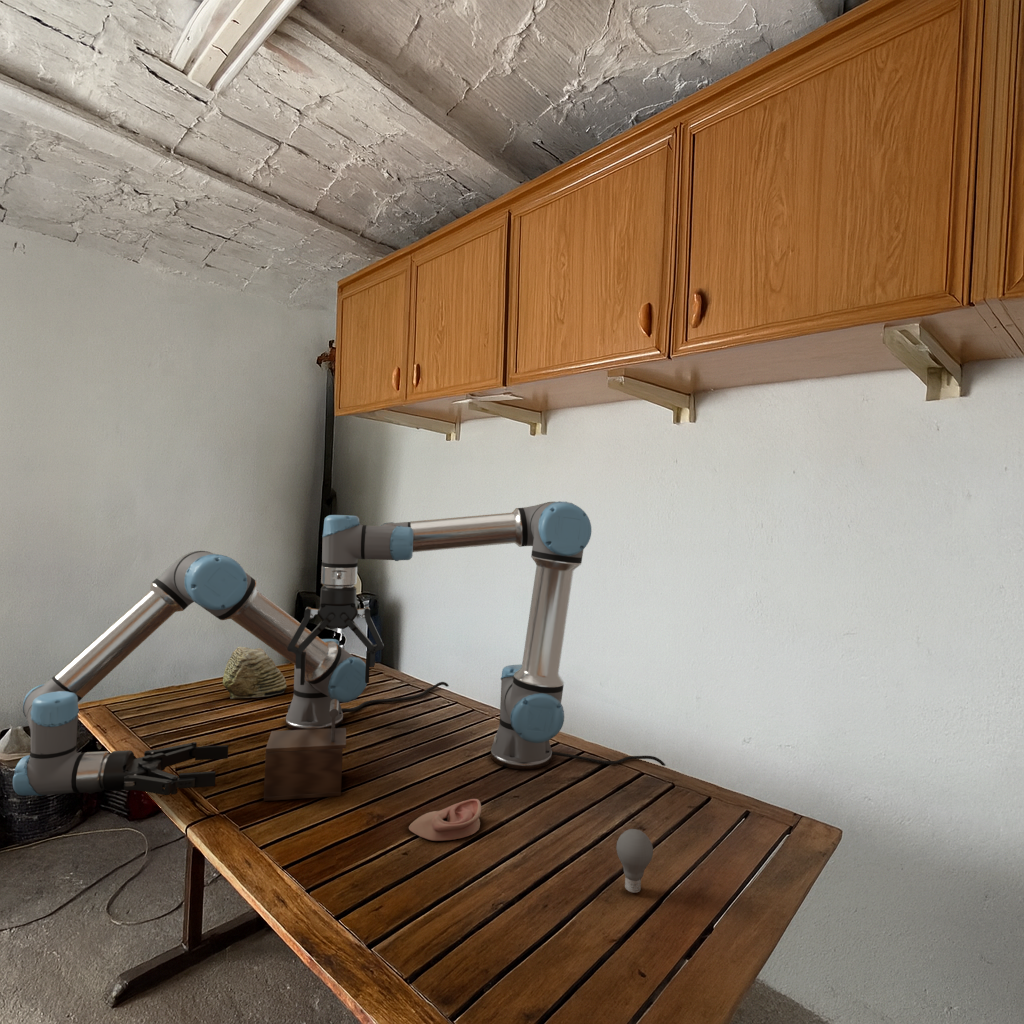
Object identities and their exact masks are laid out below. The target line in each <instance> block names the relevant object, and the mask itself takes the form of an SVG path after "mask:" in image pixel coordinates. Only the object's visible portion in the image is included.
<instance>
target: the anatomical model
mask: <svg viewBox="0 0 1024 1024" xmlns="http://www.w3.org/2000/svg"><path fill="white" fill-rule="evenodd" d="M481 814H482V803H481V801H480V800H479V799H478V798H470V799H466V800H463V801H460V802H457V803H454V804H452V805H449V806H447V807H445V808H443V809H440V810H433V811H429V812H426V813H424V814H422V815H420V816H419V817H417V818H416V819H414V820H413V821H412V822H411V823H410V825H409V826H408V830H409V831H410V832H411V833H413V834H415V835H416V836H418V837H420V838H423V839H425V840H428V841H433V842H443V841H452V840H457V839H458V840H459V839H463V838H466V837H467V838H468V837H469V836H472V835H473V834H475V833H477V832H478V831H479V830H480V828H481V820H480V817H481Z"/></svg>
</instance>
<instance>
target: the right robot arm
mask: <svg viewBox="0 0 1024 1024" xmlns="http://www.w3.org/2000/svg"><path fill="white" fill-rule="evenodd" d="M323 520H324V521H323V530H322V535H321V536H322V537H321V538H322V546H321V547H322V549H321V551H322V552H321V560H322V561H321V572H320V573H321V575H320V576H321V577H320V578H321V579H320V584H321V585H323V586H321V588H320V601H319V607H318V608H312V607H311V606H306V608H305V610H304V613H303V618H302V620H301V622H300V623H301V624H300V626H299V627H298V629H297V631H296V633H295V634H294V636H293V638H292V640H291V642H290V643H289V645H288V648H287V650H288V651H289V652H294V653H295V654H296V666H295V665H294V667H296V669H301V679H300V685H304V683H305V663H306V652H303V651H304V650H305V649H306V647H307V646H308V645H309V644H310V643H311V642H312V641H313V640H314V639H315V638H316V637H319V635H320V633H321V632H323V631H324V630H325V628H327V629H329V630H334V629H340V630H345V629H347V628H349V630H350V631H352V632H353V633H354V634H355V636H356V637H357V638H358V639H359V641H360V642H361V643H362V644H363V645H364V647H365V648H366V649H367V650H366V651H365V664H366V671H365V683H367V684H369V683H370V668H374V667H375V666H376V654H377V652H379V651H383V650H384V649H385V645H384V643H383V640H382V638H381V636H380V633H379V632H378V629H377V627H376V626H375V625H376V624H375V623H374V621H373V619H372V617H371V608H370V607H369V606H365V607H363V608H357V587H356V586H355V585H357V584H358V560H376V561H377V560H379V561H395V562H399V561H410V560H411V559H412V558H413V556H414V555H413V554H414V553H420V552H421V553H422V552H430V551H431V552H432V551H443V550H455V549H465V548H478V547H488V546H497V545H498V546H499V545H509V544H510V545H511V544H514V545H516V546H518V547H520V548H521V547H531V555H530V557H531V559H532V561H534V563H535V574H534V578H533V579H534V581H533V587H532V594H531V600H530V607H529V614H528V622H527V628H526V636H525V640H524V641H525V642H524V648H523V655H522V663H521V664H510V665H506V666H504V667H503V668H502V670H501V676H500V680H501V682H500V705H499V725H498V728H497V731H496V734H495V735H494V737H493V742H492V745H491V747H490V758H491V760H492V761H493V762H494V763H496V764H497V765H499V766H501V767H505V768H508V769H513V770H526V771H527V770H537V769H540V768H543V767H546V766H547V765H549V764H550V763H551V762H552V759H553V757H552V756H556V757H557V756H558V757H563V758H570V759H576V760H580V761H581V760H582V761H587V762H590V763H595V764H601V765H608V766H609V765H610V766H611V765H619V764H621V763H625V762H626V761H630V760H631V761H632V760H653V761H655V762H657V763H659V764H660V765H661V766H663V767H665V766H667V765H666V763H665V762H664V761H663V760H662V759H660V758H659V757H656V756H653V755H629V756H625V757H623V758H621V759H617V760H602V759H601V760H600V759H596V758H592V757H587V756H581V755H575V754H571V753H564V752H558V751H552V746H551V742H550V741H551V740H552V739H553V738H555V737H556V736H557V735H558V734H559V733H560V732H561V730H562V729H563V726H564V722H565V710H564V707H563V704H562V700H563V692H564V686H565V681H564V679H563V678H562V677H561V675H560V666H561V659H562V653H563V645H564V639H565V633H566V626H567V619H568V613H569V605H570V598H571V592H572V584H573V578H574V571H575V570H576V569H577V568H578V567H580V566H581V565H582V561H583V557H584V556H583V554H584V550H585V548H586V547H587V546H588V544H589V543H590V540H591V537H592V523H591V520H590V517H589V516H588V514H587V513H586V511H585V510H584V509H582V508H581V507H580V506H578V505H577V504H574V503H572V502H568V501H560V500H559V501H547V502H542V503H539V504H535V505H529V506H525V507H516V508H515V509H514V510H513V511H512V512H505V513H491V514H482V515H481V514H480V515H471V516H470V515H469V516H460V517H445V518H435V519H425V520H413V521H411V520H410V521H402V522H401V521H399V522H384V523H383V524H381V525H367V524H361V522H360V517H359V516H357V515H348V514H347V515H346V514H329V515H327V516H326V517H324V519H323ZM316 615H317V616H318V618H319V619H320V620H321V621H320V622H319V623H318V624H317V625H316V627H315V628H314V629H313V630H312V631H311V633H310V634H309V635H308V636H307V638H306V639H305V640H304V641H303V642H302V643H301V644H300V645H299V646H296V643H297V642H298V640H299V638H300V636H301V634H302V633H303V631H304V629H305V627H306V628H307V626H308V624H309V621H310V620H311V619H314V617H315V616H316ZM358 615H360V618H362V619H364V620H365V623H366V625H367V627H368V629H369V631H370V633H371V635H372V639H373V640H374V643H375V644H374V643H373V642H372V641H371V640H370V638H368V636H367V635H366V634H365V633H364V632H363V630H362V629H361V628H360V627H359V626H358V625H357V623H356V622H355V619H356V617H357V616H358Z"/></svg>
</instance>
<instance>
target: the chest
mask: <svg viewBox="0 0 1024 1024" xmlns="http://www.w3.org/2000/svg"><path fill="white" fill-rule="evenodd" d="M343 750H344V748H342V749H323V750H304V751H285V752H266V751H265V756H264V757H265V758H264V763H265V764H264V785H263V802H273V801H287V800H300V799H315V798H329V797H340V796H342V776H343V756H344V755H343V754H344V753H343V752H344V751H343Z"/></svg>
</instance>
